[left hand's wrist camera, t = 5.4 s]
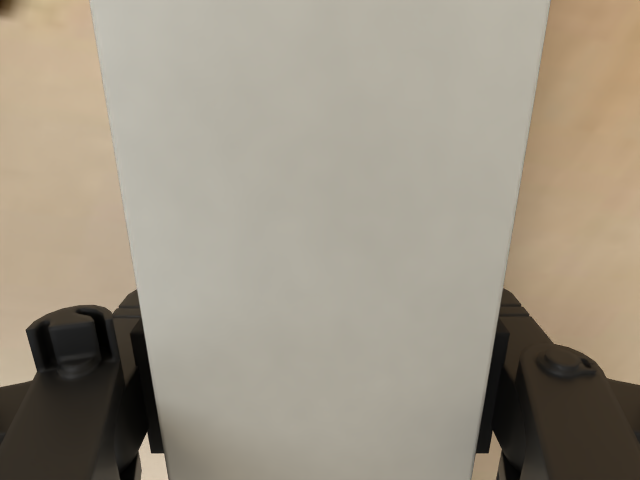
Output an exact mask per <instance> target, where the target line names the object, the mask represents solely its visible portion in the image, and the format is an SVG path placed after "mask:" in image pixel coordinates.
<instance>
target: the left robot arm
mask: <svg viewBox="0 0 640 480" xmlns="http://www.w3.org/2000/svg"><path fill="white" fill-rule="evenodd" d="M26 333H27V336H28V340H29V344H30V347H31V351H32V355H33V358H34V362H35V365H36V369H37V373H36V375H35V377H34V379H33V380H32V381H29V382H25V383H20V384H15V385H9V386H4V387H0V480H141V472H142V469H141V462H140V457H139V451H138V450H139V448H140V446H141V444H142V442H143V439H144V437H145V435H146V433H148V438H149V444H150V449H151V453H164V449H163V443H162V437H161V431H160V425H159V418H158V412H157V406H156V400H155V394H154V388H153V382H152V376H151V370H150V364H149V358H148V352H147V346H146V340H145V334H144V328H143V322H142V316H141V310H140V304H139V298H138V292H137V290H135V291H133V292H132V293H130V294H128V296H127V297H126V298H125V299H124V300H123V302H122V303H121V304H120V305H119V308H117V309H116V310H115V311H114V313H113V314H112V312H111V311H109V310H108V309H107V308H105V307H101V306H96V305H78V306H73V307H68V308H63V309H60V310H57V311H55V312H52V313H49V314H47V315H45V316H43V317H41V318H40V319H38V320H36V321H34V322H33V323H32V324H31V325H30V326H29V327H28V328H27V329H26ZM492 431H494V433H495V436H496V438H497V440H498V442H499V444H500V446H501V448H502V451H501V457H500V462H499V467H498V472H497V477H496V480H640V385H636V384H631V383H626V382H621V381H616V380H612V379H608V378H606V376H605V374H604V372H603V371H602V369H601V368H600V367H599V366H598V364H597V363H596V362H595V361H593V360H592V359H590V358H589V357H588V356H586V355H585V354H583V353H581V352H578V351H576V350H574V349H571V348H569V347H565V346H561V345H556V344H553V342H552V341H551V340H550V339H549V337H548V336H547V335H546V334H545V333H544V331H543V330H542V329H541V328H540V327H539V325H538V324H537V323H536V322H535V321H534V319H533V318H532V317H529V313H528V312H527V311H526V310H525V308H524V307H521V304H520V302H519V301H518V300H517V299H516V298H515V296H514V295H513V294H512V293H511V292H509V291H508V290H506V289H504V288H503V291H502V297H501V303H500V309H499V315H498V321H497V327H496V333H495V339H494V345H493V351H492V357H491V363H490V370H489V376H488V382H487V388H486V394H485V400H484V406H483V412H482V418H481V424H480V430H479V436H478V442H477V448H476V453H489V448H490V442H491V437H492Z"/></svg>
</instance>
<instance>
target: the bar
mask: <svg viewBox="0 0 640 480" xmlns="http://www.w3.org/2000/svg"><path fill="white" fill-rule="evenodd" d="M89 2H90V8H91V14H92V20H93V26H94V32H95V38H96V44H97V50H98V56H99V62H100V68H101V74H102V80H103V86H104V92H105V98H106V104H107V110H108V117H109V123H110V129H111V135H112V141H113V147H114V153H115V159H116V165H117V171H118V177H119V183H120V189H121V195H122V201H123V207H124V213H125V219H126V225H127V231H128V237H129V243H130V249H131V255H132V261H133V267H134V274H135V280H136V286H137V292H138V298H139V304H140V310H141V316H142V322H143V328H144V334H145V340H146V346H147V352H148V358H149V364H150V370H151V376H152V382H153V388H154V394H155V400H156V406H157V412H158V418H159V425H160V431H161V437H162V443H163V449H164V455H165V461H166V467H167V473H168V479H169V480H471V478H472V472H473V466H474V460H475V454H476V448H477V442H478V436H479V430H480V424H481V418H482V412H483V406H484V400H485V394H486V388H487V382H488V376H489V370H490V363H491V357H492V351H493V345H494V339H495V333H496V327H497V321H498V315H499V309H500V303H501V297H502V291H503V285H504V279H505V273H506V267H507V261H508V255H509V249H510V243H511V237H512V231H513V225H514V219H515V213H516V207H517V201H518V195H519V189H520V183H521V177H522V171H523V165H524V159H525V153H526V147H527V140H528V134H529V128H530V122H531V116H532V110H533V104H534V98H535V92H536V86H537V80H538V74H539V68H540V62H541V56H542V50H543V44H544V38H545V32H546V26H547V20H548V14H549V8H550V2H551V0H89Z"/></svg>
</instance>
